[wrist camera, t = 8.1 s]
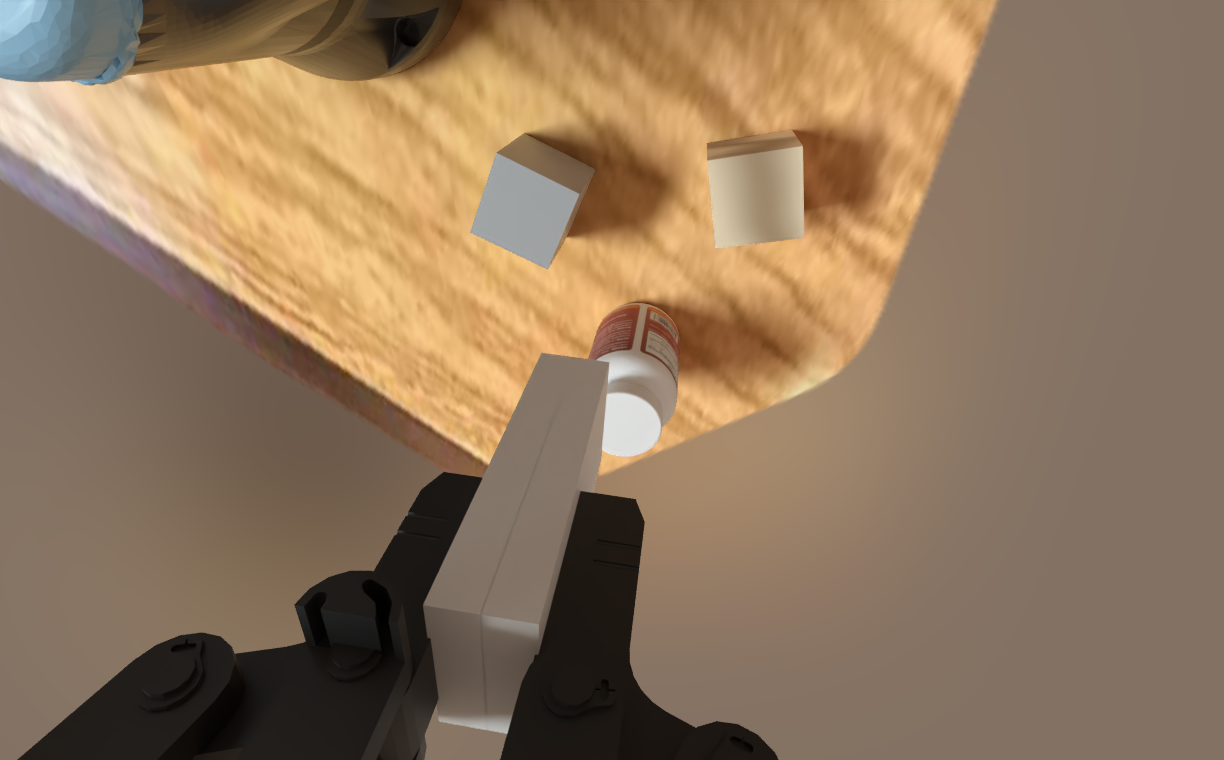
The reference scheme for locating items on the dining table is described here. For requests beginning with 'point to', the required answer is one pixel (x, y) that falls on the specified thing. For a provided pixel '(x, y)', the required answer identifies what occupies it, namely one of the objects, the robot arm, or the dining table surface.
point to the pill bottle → (637, 376)
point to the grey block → (531, 199)
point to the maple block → (756, 189)
